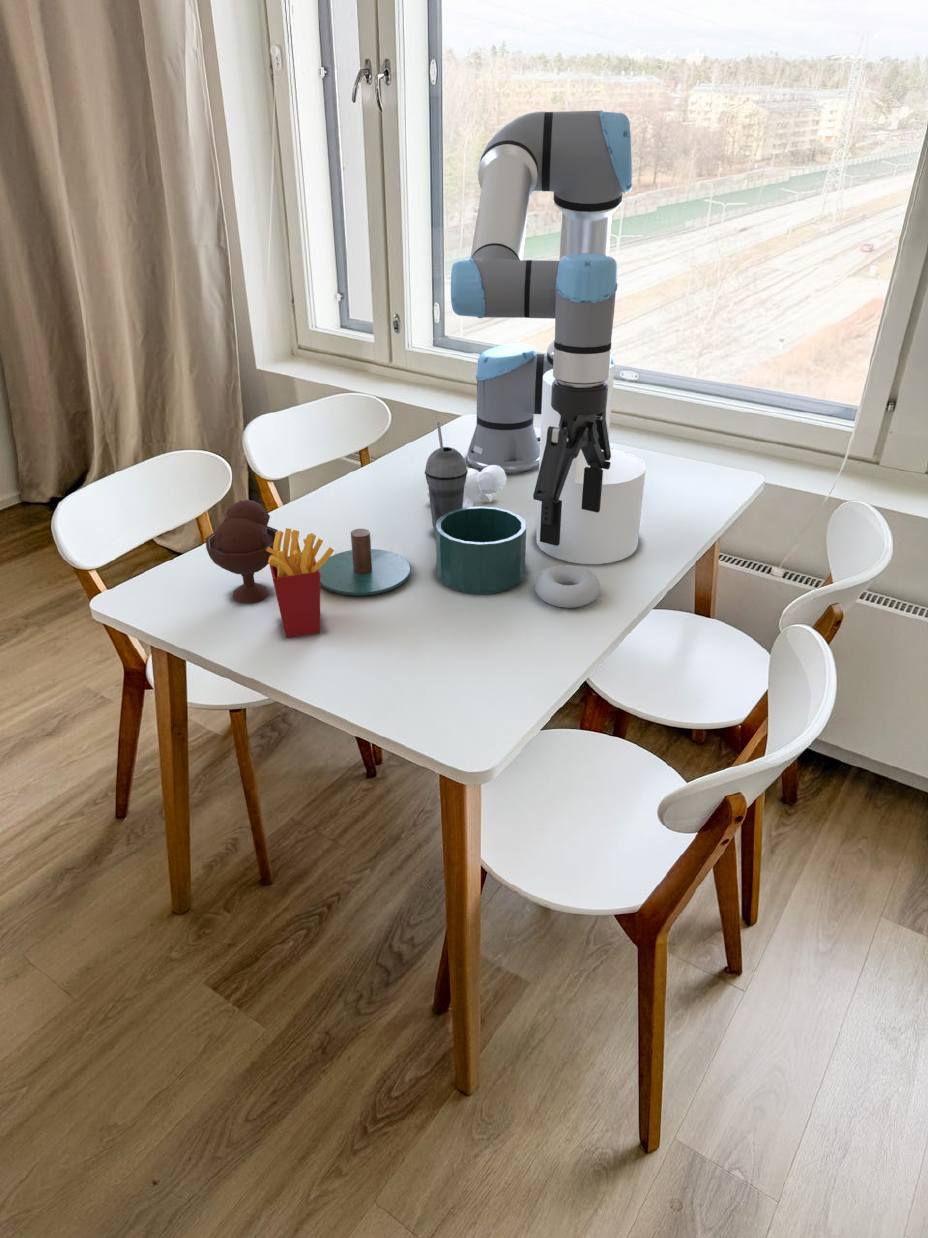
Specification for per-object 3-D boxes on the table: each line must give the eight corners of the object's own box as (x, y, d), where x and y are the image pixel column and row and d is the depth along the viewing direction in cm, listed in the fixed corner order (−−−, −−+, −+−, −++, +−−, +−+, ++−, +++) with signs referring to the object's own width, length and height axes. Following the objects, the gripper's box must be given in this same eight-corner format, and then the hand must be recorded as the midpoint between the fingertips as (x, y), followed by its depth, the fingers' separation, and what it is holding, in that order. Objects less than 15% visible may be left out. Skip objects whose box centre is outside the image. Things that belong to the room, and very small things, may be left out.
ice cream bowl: (224, 577, 139) (209, 489, 132) (293, 578, 139) (283, 490, 131) (204, 611, 130) (188, 518, 122) (279, 612, 130) (267, 519, 122)
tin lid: (355, 547, 148) (352, 505, 145) (428, 568, 142) (427, 525, 138) (296, 583, 138) (291, 539, 134) (372, 608, 131) (369, 562, 127)
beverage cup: (463, 544, 149) (462, 430, 139) (421, 541, 150) (418, 428, 140) (471, 526, 155) (471, 416, 145) (431, 523, 157) (428, 414, 146)
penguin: (433, 524, 163) (501, 511, 155) (417, 482, 160) (486, 465, 152) (455, 508, 170) (521, 494, 161) (440, 466, 167) (507, 450, 159)
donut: (543, 576, 139) (525, 605, 131) (544, 557, 138) (526, 584, 130) (605, 587, 136) (591, 616, 128) (607, 567, 135) (593, 595, 127)
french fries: (279, 642, 123) (267, 545, 115) (273, 613, 129) (261, 520, 122) (342, 632, 125) (333, 537, 117) (332, 605, 132) (324, 513, 124)
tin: (465, 546, 149) (465, 499, 144) (540, 566, 142) (542, 518, 138) (419, 579, 138) (417, 530, 134) (497, 603, 132) (498, 552, 128)
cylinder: (520, 552, 147) (526, 385, 132) (556, 513, 160) (564, 358, 146) (620, 572, 140) (637, 399, 126) (649, 530, 154) (667, 370, 139)
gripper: (593, 356, 128) (583, 492, 138) (510, 398, 109) (506, 551, 120) (642, 363, 124) (628, 502, 135) (564, 407, 106) (555, 564, 117)
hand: (570, 526), depth 128 cm, fingers open, 13 cm apart
